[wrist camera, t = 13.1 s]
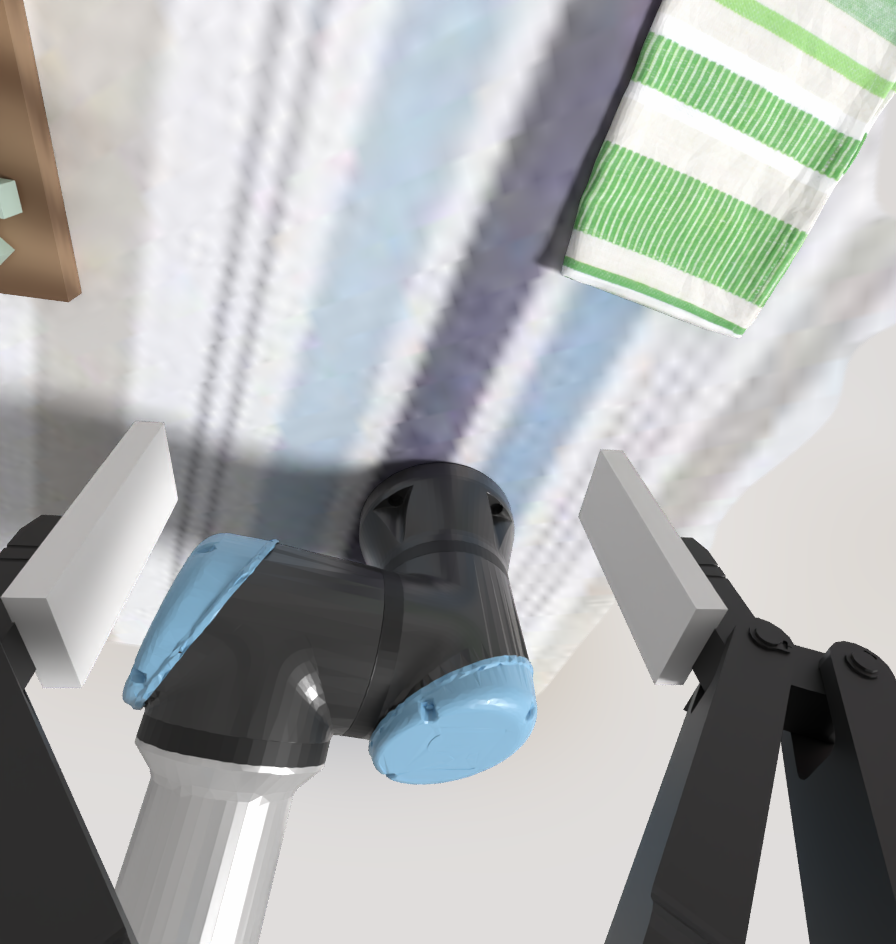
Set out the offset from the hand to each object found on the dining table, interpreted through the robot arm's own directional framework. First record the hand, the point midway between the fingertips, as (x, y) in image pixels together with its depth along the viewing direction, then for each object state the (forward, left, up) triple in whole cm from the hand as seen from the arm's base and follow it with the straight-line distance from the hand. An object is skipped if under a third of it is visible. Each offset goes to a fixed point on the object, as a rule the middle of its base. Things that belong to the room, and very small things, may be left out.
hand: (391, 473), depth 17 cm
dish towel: (+10, -22, -29) cm, 38 cm away
